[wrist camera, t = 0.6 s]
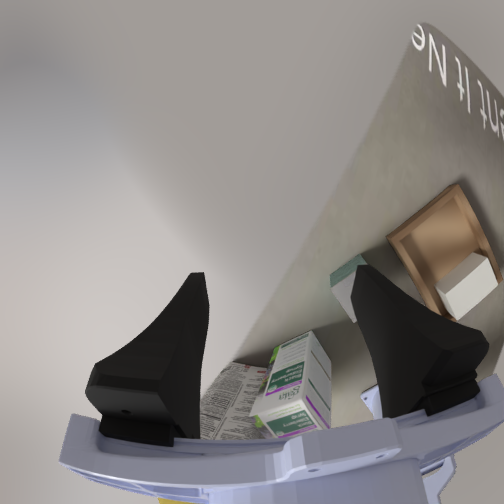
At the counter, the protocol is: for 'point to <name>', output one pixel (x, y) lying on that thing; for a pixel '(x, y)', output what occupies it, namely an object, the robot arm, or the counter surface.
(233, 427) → the juice carton
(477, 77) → the counter surface
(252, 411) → the syrup box
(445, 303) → the white rectangular block
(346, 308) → the tea tin
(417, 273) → the wooden tray
